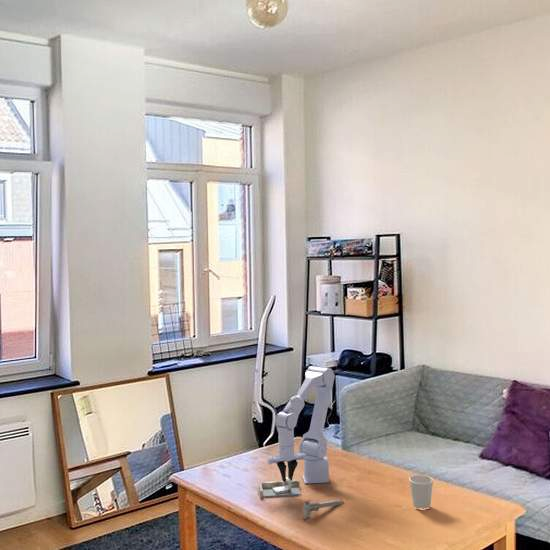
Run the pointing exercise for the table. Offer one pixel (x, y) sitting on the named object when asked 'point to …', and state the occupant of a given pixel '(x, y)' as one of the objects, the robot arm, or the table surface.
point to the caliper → (317, 507)
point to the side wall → (260, 490)
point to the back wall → (279, 484)
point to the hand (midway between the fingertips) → (287, 480)
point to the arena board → (269, 493)
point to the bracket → (283, 487)
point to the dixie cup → (421, 490)
